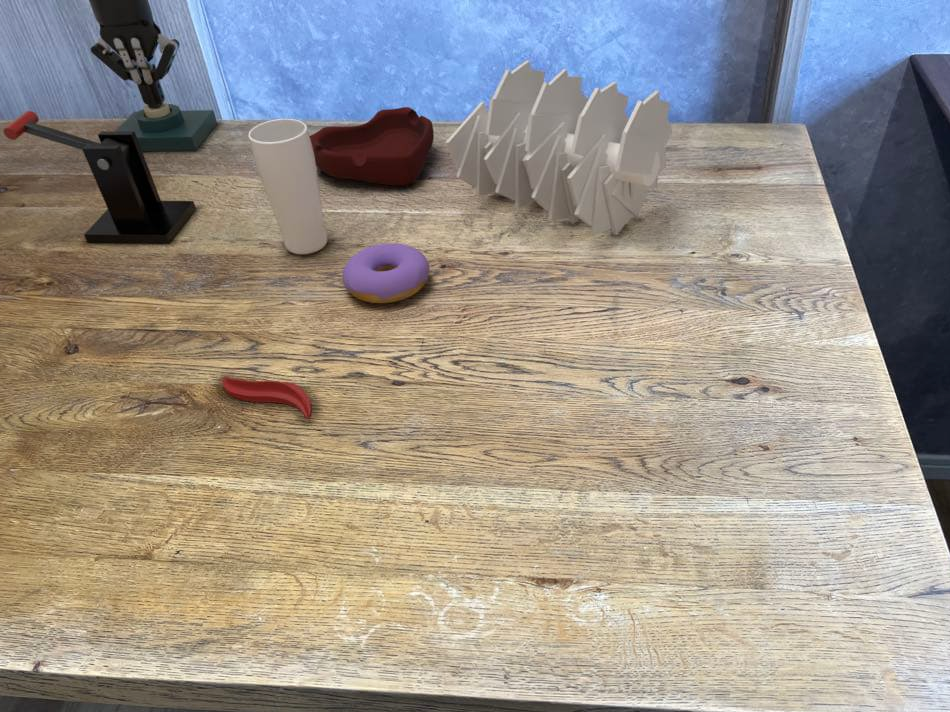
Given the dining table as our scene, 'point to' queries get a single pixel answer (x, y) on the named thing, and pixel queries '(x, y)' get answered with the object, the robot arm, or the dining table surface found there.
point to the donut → (386, 273)
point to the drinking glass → (290, 182)
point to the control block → (171, 129)
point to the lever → (55, 134)
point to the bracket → (131, 196)
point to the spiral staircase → (564, 148)
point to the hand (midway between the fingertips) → (156, 106)
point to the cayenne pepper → (268, 392)
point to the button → (157, 111)
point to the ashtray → (376, 148)
